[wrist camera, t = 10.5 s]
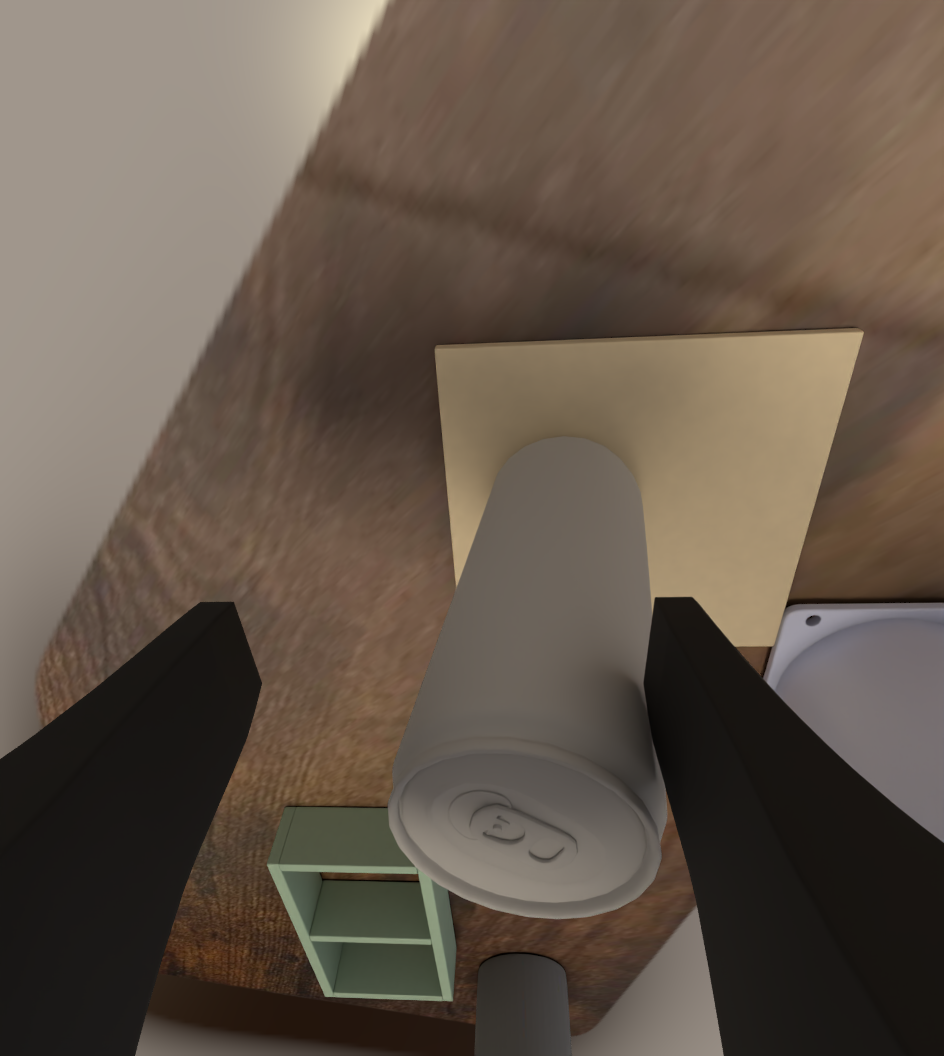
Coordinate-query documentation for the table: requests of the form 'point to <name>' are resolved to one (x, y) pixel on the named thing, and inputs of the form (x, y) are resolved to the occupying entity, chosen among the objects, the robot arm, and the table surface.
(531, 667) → the beverage can
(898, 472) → the table surface
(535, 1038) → the bottle
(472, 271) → the table surface
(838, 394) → the mat
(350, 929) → the divided storage tray
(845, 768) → the robot arm
